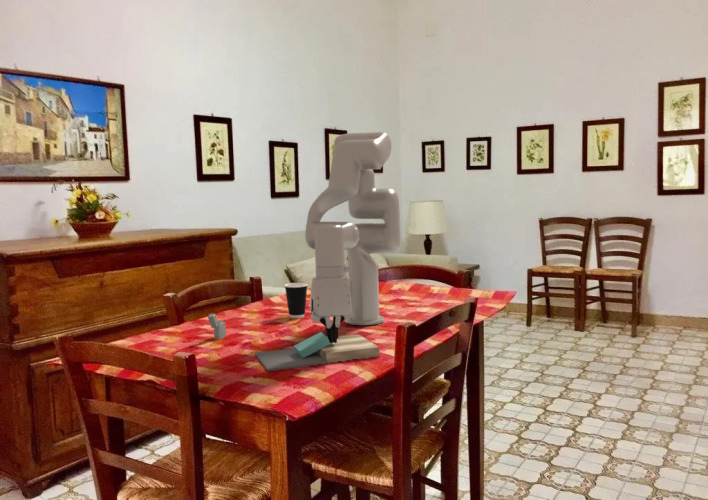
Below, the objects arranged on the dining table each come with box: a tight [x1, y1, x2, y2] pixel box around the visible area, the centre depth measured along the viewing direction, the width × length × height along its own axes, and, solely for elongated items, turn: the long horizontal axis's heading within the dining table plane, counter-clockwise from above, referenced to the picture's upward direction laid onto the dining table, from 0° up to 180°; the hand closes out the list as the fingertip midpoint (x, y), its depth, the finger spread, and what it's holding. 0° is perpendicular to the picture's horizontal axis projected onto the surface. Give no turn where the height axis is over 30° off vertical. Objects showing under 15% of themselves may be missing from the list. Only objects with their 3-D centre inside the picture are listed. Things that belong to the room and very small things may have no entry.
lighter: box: [207, 313, 227, 341], centre depth 179 cm, size 7×2×8 cm, turn 164°
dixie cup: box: [283, 282, 309, 319], centre depth 207 cm, size 8×8×11 cm
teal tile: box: [293, 331, 330, 358], centre depth 158 cm, size 6×8×2 cm
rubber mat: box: [254, 347, 329, 372], centre depth 156 cm, size 16×15×1 cm
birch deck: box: [316, 333, 380, 364], centre depth 161 cm, size 15×14×2 cm
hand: (332, 341), depth 160 cm, fingers closed
